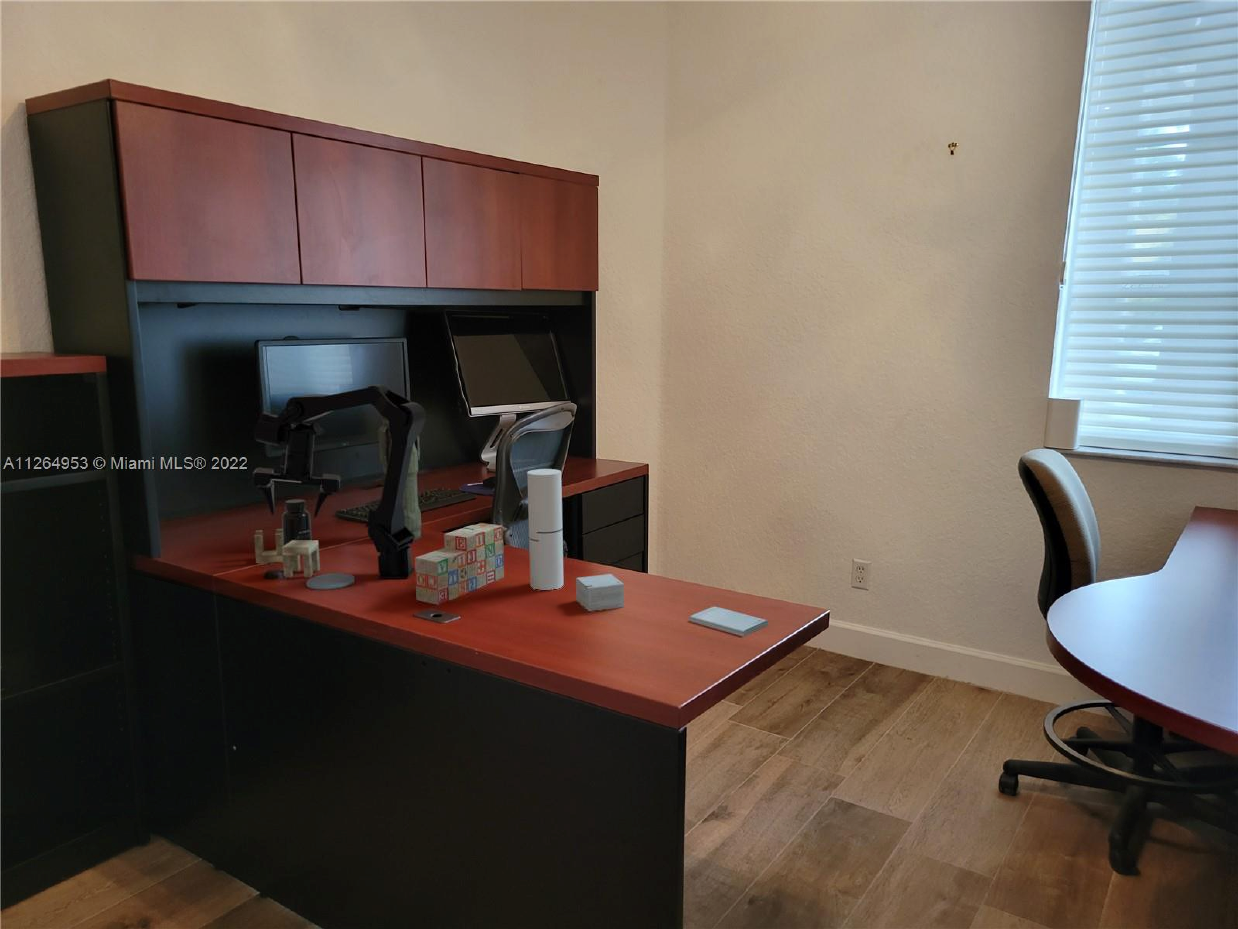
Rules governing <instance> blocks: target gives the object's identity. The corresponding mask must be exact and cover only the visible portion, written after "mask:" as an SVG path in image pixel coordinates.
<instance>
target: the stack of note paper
mask: <svg viewBox="0 0 1238 929" xmlns="http://www.w3.org/2000/svg"><path fill="white" fill-rule="evenodd" d="M575 587H576V590H575V591H576V602H578V603H579V602H580V603H579V604H580V605H581V607H583V606H584V607H585V608H584V607H583V608H584V609H585V610H586V609H587V610H588V611H591V612H596V611H595V610H599V611H602V610H601V609H606V610H612V609H619V608H620V607H621V608H624V607H625V584H624V583H623V582H622V581H620V580H619V579H618V578H616V576H614V575H613V574H612V573H605V574H599V575H589V576H582V577H576V579H575ZM587 610H586V611H587ZM593 610H594V611H593ZM588 611H587V612H588Z"/></svg>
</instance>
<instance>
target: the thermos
mask: <svg viewBox="0 0 1238 929" xmlns="http://www.w3.org/2000/svg"><path fill="white" fill-rule="evenodd" d="M382 422H383V425H380V426H379V428H378V431H377V434H378V435H377V440H378V454H379V456H378V457H379V464H380V465H382V469H383V471H382V472H383V474H384V475H386V470H387V465H388V459H389V454H390V449H391V437H390V434H389V430H388V428H389V421H388V420H387V419H386V418H384V417H383V416H382ZM420 442H421V441H420V435H419V436H418V437H417V439H416V441H415V442H414V444H413V448H412V453H411V459H410V464H409V469H408V474H407V479H406V484H405V490H404V495H403V500H402V507H403V511H404V514H405V523H404V525H405V526H406V527H407V528H408V529H409V530H410V531H411V532H412V533H413V534H414V535H415V538H414V541H415V540H418V539H420V538H422V533H421V532H422V530H421V528H422V514H421V509H420V507H419V497H418V495H419V494H418V493H419V492H418V476H417V475H418V472H419V461H420V459H421V448H420V447H421V445H420Z"/></svg>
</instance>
